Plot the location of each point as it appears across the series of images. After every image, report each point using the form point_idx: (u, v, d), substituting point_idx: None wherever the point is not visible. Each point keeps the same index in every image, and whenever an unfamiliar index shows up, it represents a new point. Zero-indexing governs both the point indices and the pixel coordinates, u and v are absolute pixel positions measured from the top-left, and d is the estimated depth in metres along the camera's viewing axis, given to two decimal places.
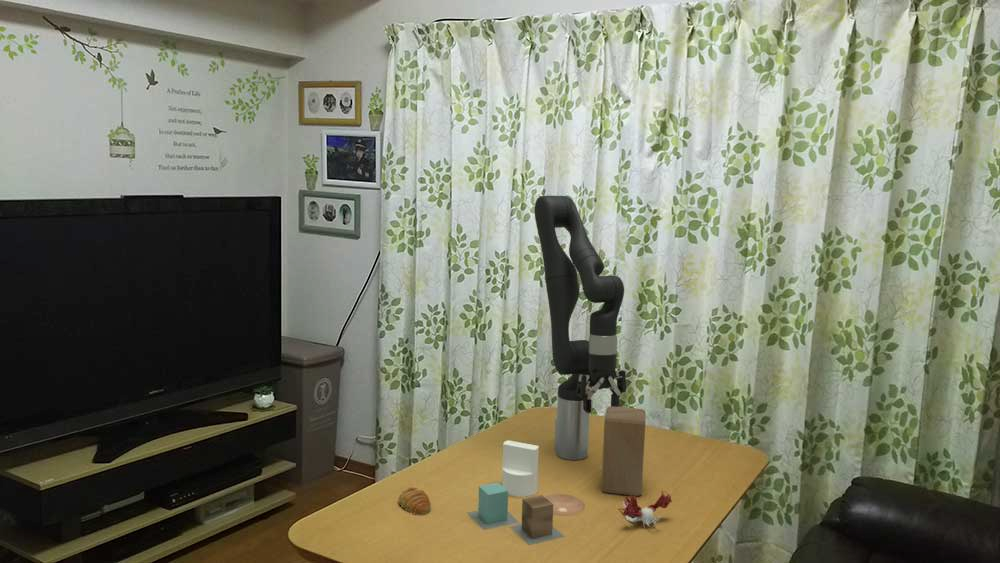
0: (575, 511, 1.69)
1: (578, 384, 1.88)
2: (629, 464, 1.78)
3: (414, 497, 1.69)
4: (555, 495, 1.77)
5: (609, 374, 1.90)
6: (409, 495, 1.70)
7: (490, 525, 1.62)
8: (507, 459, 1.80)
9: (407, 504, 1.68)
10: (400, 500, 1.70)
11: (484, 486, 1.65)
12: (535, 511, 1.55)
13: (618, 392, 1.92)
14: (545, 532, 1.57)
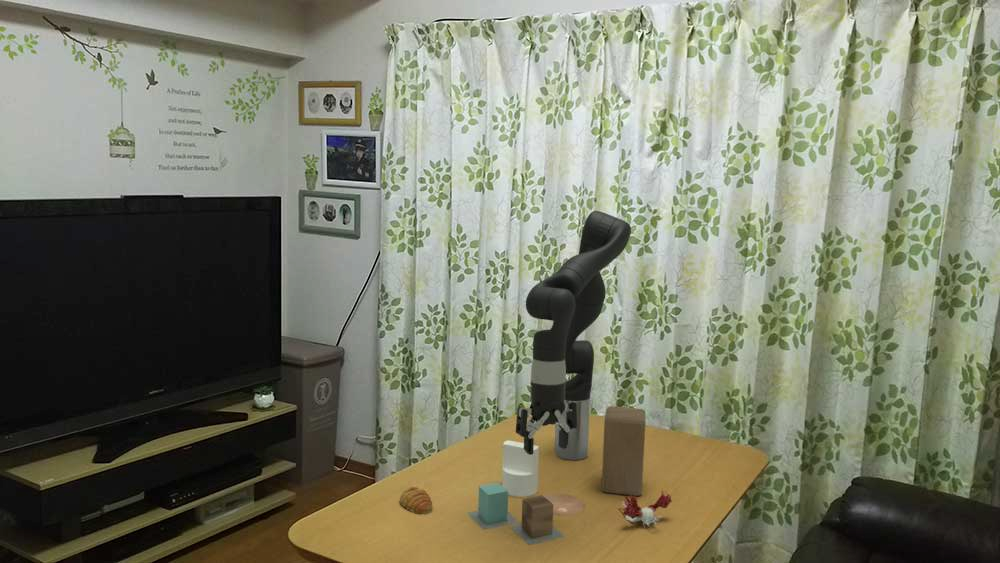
0: (575, 511, 1.69)
1: (517, 419, 1.54)
2: (629, 464, 1.78)
3: (416, 496, 1.69)
4: (555, 495, 1.77)
5: (556, 407, 1.56)
6: (410, 495, 1.70)
7: (490, 525, 1.62)
8: (507, 459, 1.80)
9: (409, 503, 1.68)
10: (401, 500, 1.71)
11: (484, 486, 1.65)
12: (535, 511, 1.55)
13: (567, 428, 1.58)
14: (545, 532, 1.57)
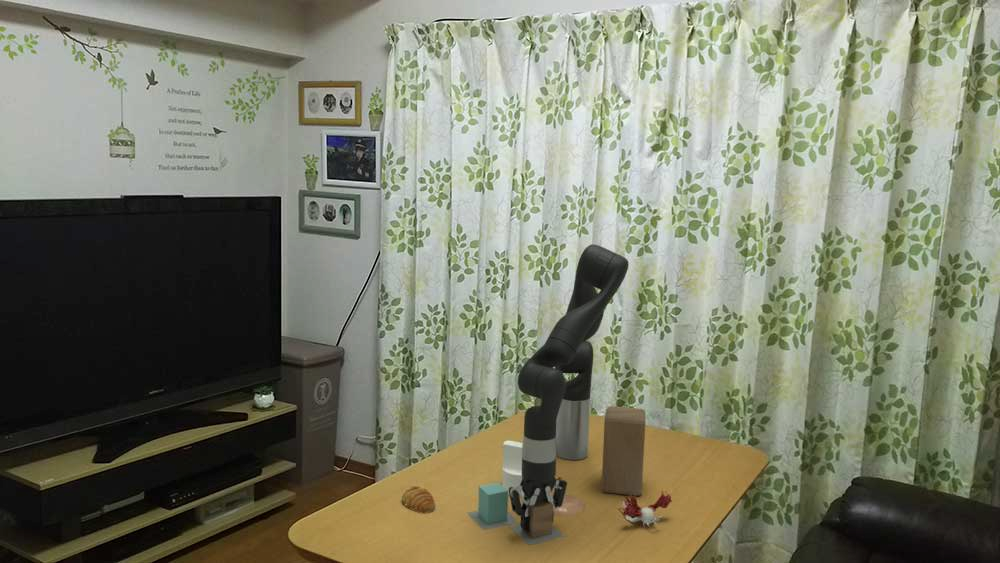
0: (575, 511, 1.69)
1: (511, 500, 1.56)
2: (629, 464, 1.78)
3: (418, 496, 1.70)
4: None
5: (547, 483, 1.57)
6: (412, 494, 1.70)
7: (490, 525, 1.62)
8: (507, 459, 1.80)
9: (412, 502, 1.69)
10: (404, 499, 1.71)
11: (484, 486, 1.65)
12: (535, 511, 1.55)
13: None
14: (545, 532, 1.57)
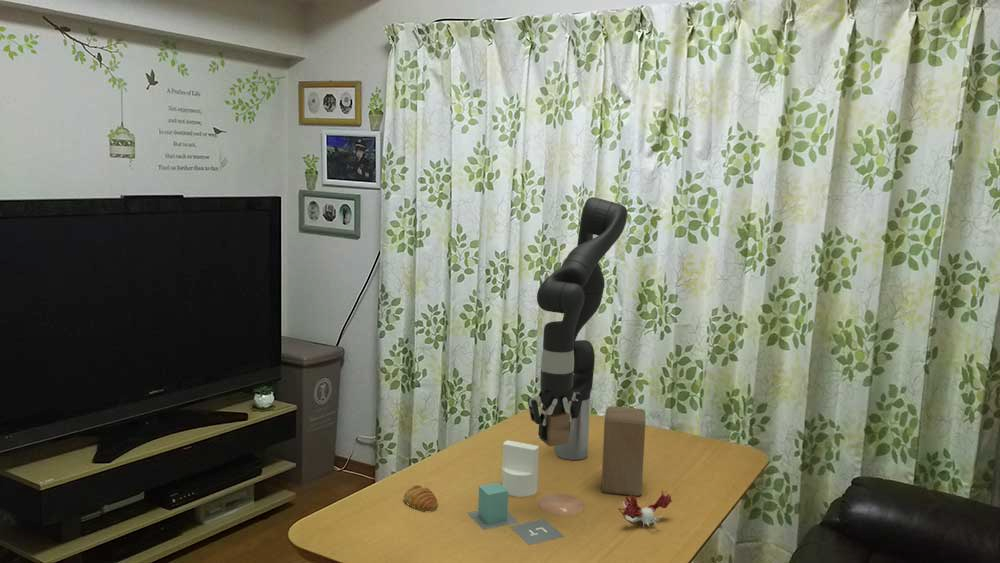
0: (575, 511, 1.69)
1: (530, 409, 1.64)
2: (629, 464, 1.78)
3: (421, 495, 1.70)
4: (555, 495, 1.77)
5: (564, 394, 1.65)
6: (415, 493, 1.71)
7: (490, 525, 1.62)
8: (507, 459, 1.80)
9: (414, 501, 1.69)
10: (406, 498, 1.71)
11: (484, 486, 1.65)
12: (552, 420, 1.63)
13: None
14: (562, 441, 1.66)
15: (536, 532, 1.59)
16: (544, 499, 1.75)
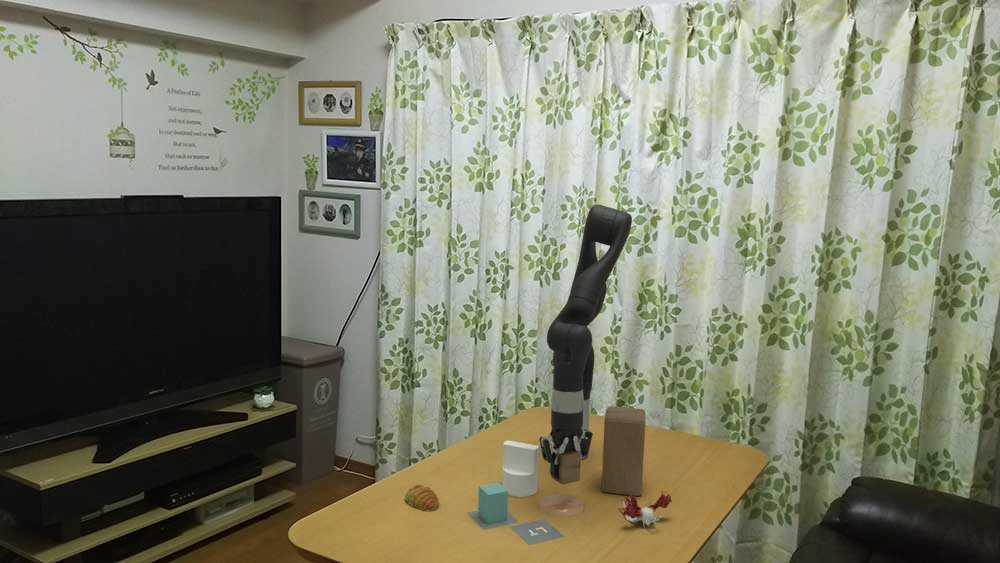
0: (575, 511, 1.69)
1: (542, 449, 1.68)
2: (629, 464, 1.78)
3: (422, 494, 1.71)
4: (555, 495, 1.77)
5: (574, 433, 1.70)
6: (416, 492, 1.71)
7: (490, 525, 1.62)
8: (507, 459, 1.80)
9: (416, 501, 1.69)
10: (407, 498, 1.72)
11: (484, 486, 1.65)
12: (564, 458, 1.67)
13: None
14: (573, 479, 1.69)
15: (536, 532, 1.59)
16: (544, 499, 1.75)
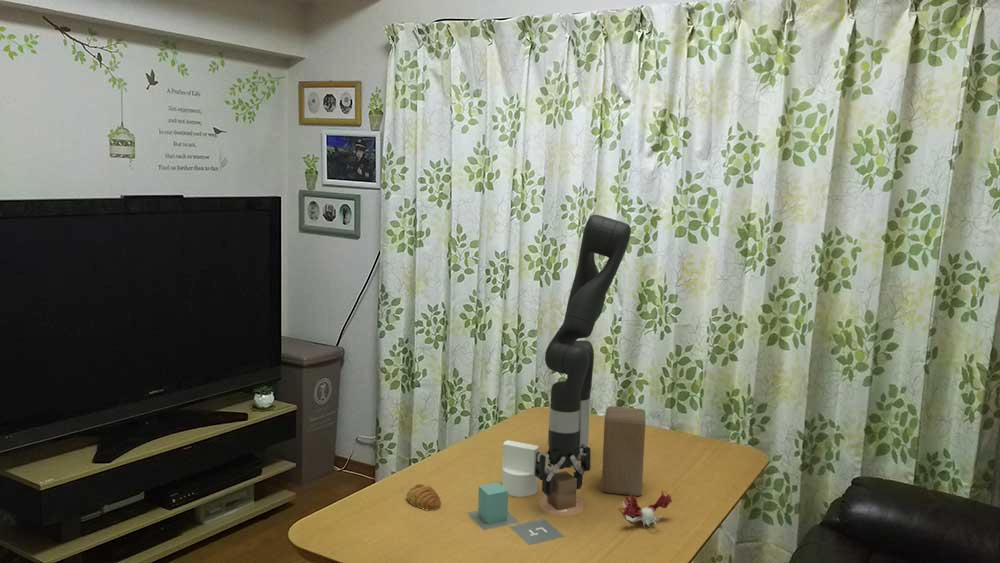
0: (575, 511, 1.69)
1: (536, 464, 1.69)
2: (629, 464, 1.78)
3: (424, 493, 1.71)
4: None
5: (571, 452, 1.71)
6: (418, 492, 1.72)
7: (490, 525, 1.62)
8: (507, 459, 1.80)
9: (417, 500, 1.70)
10: (409, 497, 1.72)
11: (484, 486, 1.65)
12: (560, 484, 1.69)
13: (581, 471, 1.72)
14: (569, 504, 1.71)
15: (536, 532, 1.59)
16: (544, 499, 1.75)
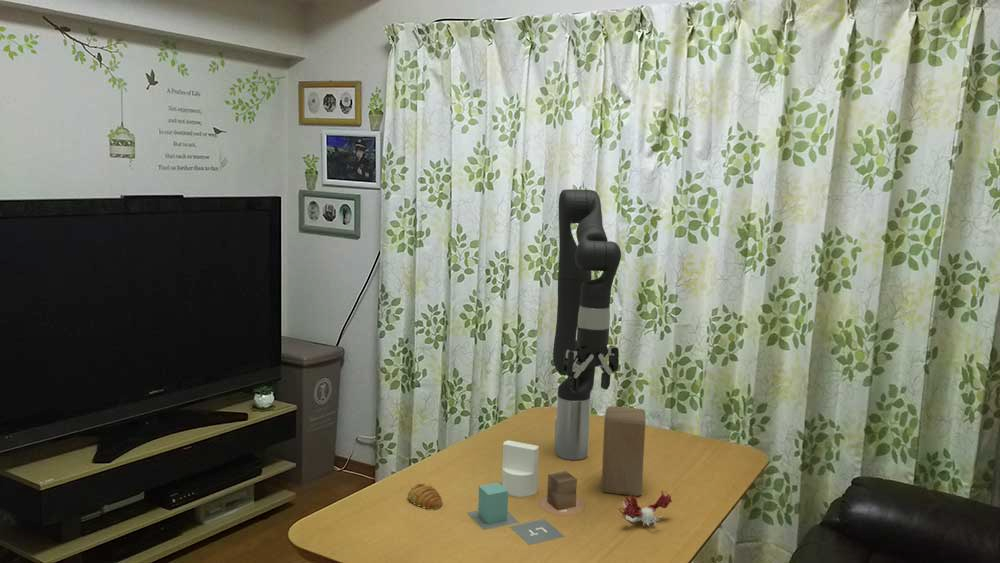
0: (575, 511, 1.69)
1: (564, 361, 1.69)
2: (629, 464, 1.78)
3: (425, 493, 1.71)
4: None
5: (600, 351, 1.71)
6: (419, 491, 1.72)
7: (490, 525, 1.62)
8: (507, 459, 1.80)
9: (419, 499, 1.70)
10: (410, 496, 1.72)
11: (484, 486, 1.65)
12: (560, 484, 1.69)
13: (609, 371, 1.73)
14: (569, 504, 1.71)
15: (536, 532, 1.59)
16: (544, 499, 1.75)
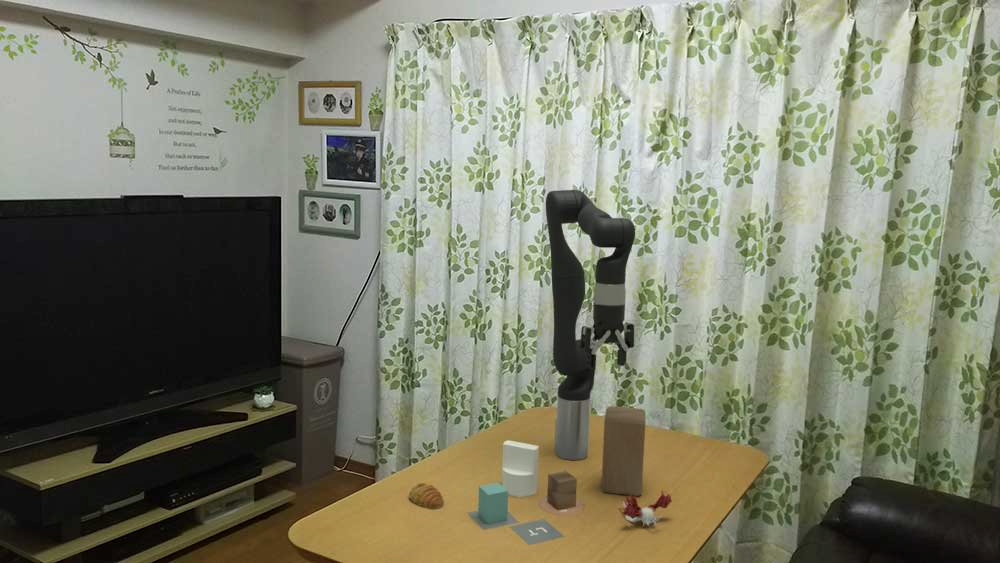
0: (575, 511, 1.69)
1: (582, 337, 1.71)
2: (629, 464, 1.78)
3: (426, 492, 1.72)
4: None
5: (616, 327, 1.73)
6: (420, 491, 1.72)
7: (490, 525, 1.62)
8: (507, 459, 1.80)
9: (420, 499, 1.70)
10: (412, 496, 1.73)
11: (484, 486, 1.65)
12: (560, 484, 1.69)
13: (625, 347, 1.75)
14: (569, 504, 1.71)
15: (536, 532, 1.59)
16: (544, 499, 1.75)
